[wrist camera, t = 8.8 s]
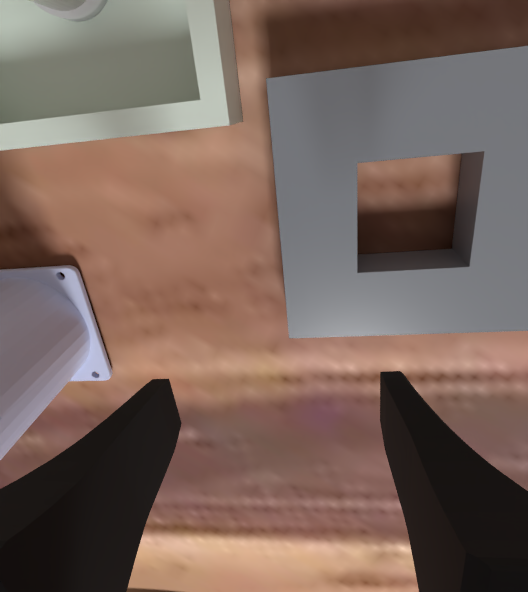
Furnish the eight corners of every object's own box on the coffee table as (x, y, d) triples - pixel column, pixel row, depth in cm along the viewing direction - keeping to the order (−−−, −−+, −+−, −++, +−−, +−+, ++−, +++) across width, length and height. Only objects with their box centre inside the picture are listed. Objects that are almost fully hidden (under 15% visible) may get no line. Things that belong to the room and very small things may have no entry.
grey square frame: (291, 315, 23) (289, 338, 21) (271, 81, 18) (266, 78, 15) (513, 306, 21) (537, 330, 19) (563, 45, 16) (604, 36, 14)
